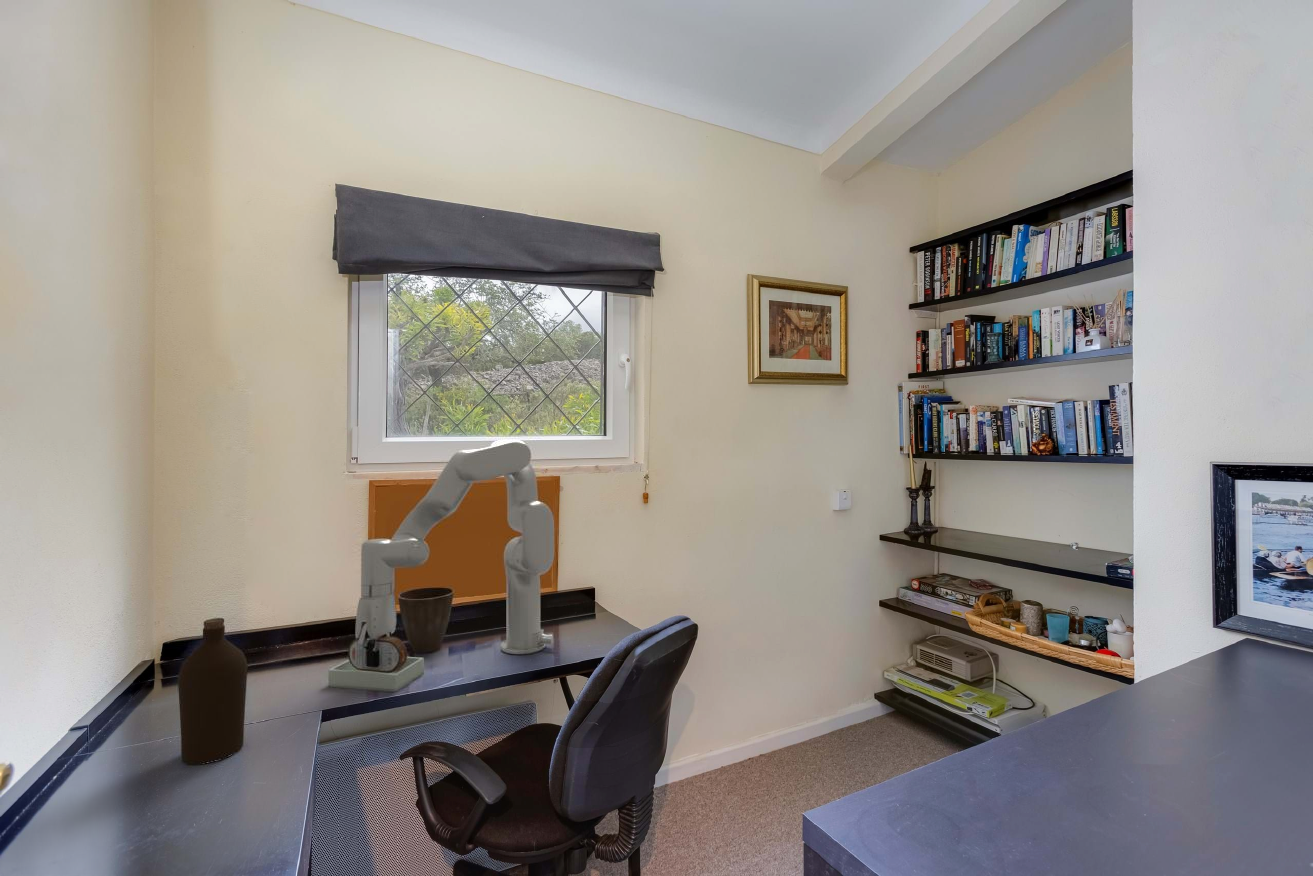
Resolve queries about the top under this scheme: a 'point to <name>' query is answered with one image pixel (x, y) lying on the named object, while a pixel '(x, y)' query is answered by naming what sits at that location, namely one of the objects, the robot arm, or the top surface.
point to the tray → (375, 676)
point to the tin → (380, 655)
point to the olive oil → (212, 697)
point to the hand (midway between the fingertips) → (377, 663)
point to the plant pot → (425, 616)
